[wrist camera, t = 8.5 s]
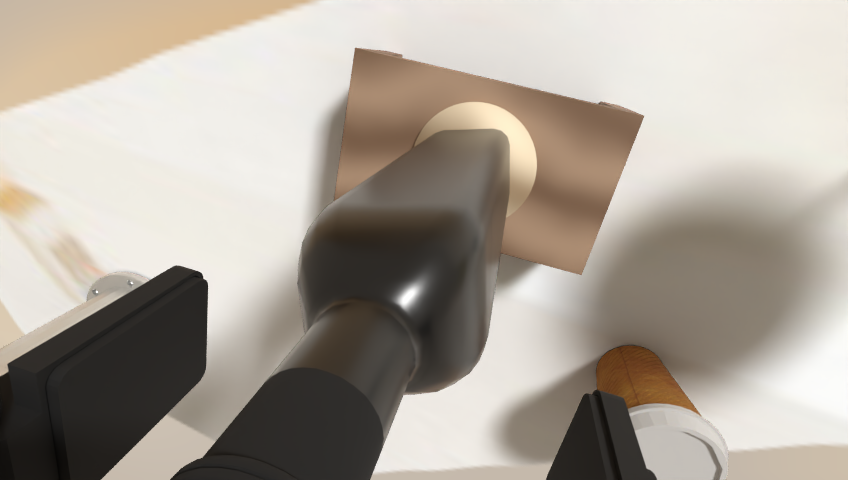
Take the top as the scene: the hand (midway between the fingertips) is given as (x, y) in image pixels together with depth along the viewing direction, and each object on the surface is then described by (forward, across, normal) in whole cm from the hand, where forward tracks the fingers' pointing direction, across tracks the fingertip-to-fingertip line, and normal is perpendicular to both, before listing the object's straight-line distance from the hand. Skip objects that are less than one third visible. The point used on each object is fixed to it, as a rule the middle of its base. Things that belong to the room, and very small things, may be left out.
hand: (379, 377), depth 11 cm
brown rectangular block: (+32, 0, 0) cm, 32 cm away
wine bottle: (+24, 0, 0) cm, 24 cm away
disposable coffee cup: (+32, -20, +18) cm, 42 cm away
